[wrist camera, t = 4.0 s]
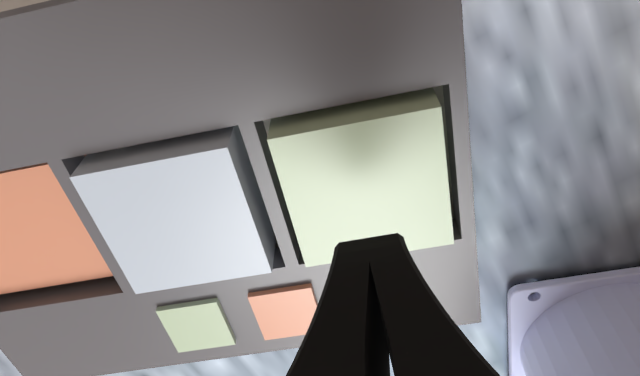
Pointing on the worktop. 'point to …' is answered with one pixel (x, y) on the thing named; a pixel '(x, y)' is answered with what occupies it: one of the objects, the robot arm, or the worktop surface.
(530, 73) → the worktop surface
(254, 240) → the blue key
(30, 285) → the terracotta key
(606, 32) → the worktop surface
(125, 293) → the keypad
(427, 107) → the sage key
